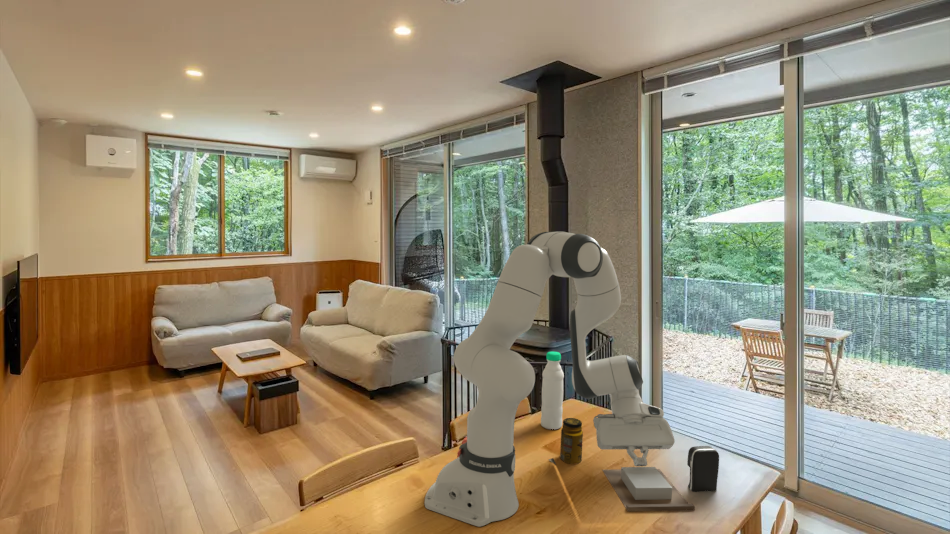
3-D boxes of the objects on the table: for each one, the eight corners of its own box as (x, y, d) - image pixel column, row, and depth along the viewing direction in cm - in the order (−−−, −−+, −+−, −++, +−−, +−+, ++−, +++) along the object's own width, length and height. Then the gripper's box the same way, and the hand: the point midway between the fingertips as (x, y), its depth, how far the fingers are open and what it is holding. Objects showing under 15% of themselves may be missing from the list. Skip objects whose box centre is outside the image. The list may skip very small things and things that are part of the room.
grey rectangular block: (620, 478, 127) (635, 500, 117) (621, 467, 127) (636, 488, 117) (654, 478, 127) (671, 499, 117) (654, 466, 127) (672, 487, 117)
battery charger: (708, 485, 126) (711, 443, 125) (717, 493, 122) (720, 450, 121) (683, 486, 125) (686, 444, 124) (691, 495, 121) (694, 451, 120)
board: (601, 472, 131) (602, 466, 131) (659, 471, 132) (659, 465, 132) (627, 514, 112) (627, 507, 112) (694, 513, 113) (694, 506, 113)
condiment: (588, 463, 136) (590, 422, 135) (566, 471, 131) (568, 429, 130) (569, 453, 142) (571, 413, 141) (548, 460, 138) (549, 420, 136)
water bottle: (550, 419, 166) (552, 348, 164) (566, 426, 161) (569, 353, 158) (536, 425, 162) (538, 352, 159) (552, 432, 156) (554, 356, 154)
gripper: (594, 409, 131) (604, 461, 122) (668, 409, 132) (683, 461, 123) (589, 418, 135) (598, 469, 127) (660, 418, 137) (674, 469, 128)
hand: (641, 465), depth 125 cm, fingers closed
